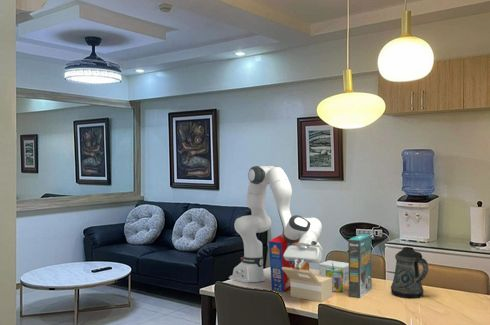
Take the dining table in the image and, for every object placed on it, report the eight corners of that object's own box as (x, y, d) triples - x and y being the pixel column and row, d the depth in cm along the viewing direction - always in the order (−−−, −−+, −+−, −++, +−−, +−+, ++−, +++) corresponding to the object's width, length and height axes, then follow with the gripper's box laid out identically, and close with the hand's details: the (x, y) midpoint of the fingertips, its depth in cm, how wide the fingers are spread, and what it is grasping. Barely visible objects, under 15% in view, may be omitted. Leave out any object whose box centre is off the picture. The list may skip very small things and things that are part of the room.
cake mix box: (360, 287, 270) (360, 234, 270) (371, 288, 267) (371, 234, 267) (348, 296, 251) (348, 239, 251) (360, 298, 248) (359, 240, 248)
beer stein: (393, 289, 266) (393, 244, 266) (430, 293, 257) (430, 246, 257) (388, 296, 251) (388, 248, 251) (427, 301, 242) (427, 251, 242)
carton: (290, 296, 252) (290, 276, 252) (302, 291, 262) (301, 272, 262) (321, 302, 242) (320, 281, 242) (332, 296, 251) (331, 277, 251)
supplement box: (318, 278, 291) (318, 263, 291) (329, 274, 302) (329, 259, 302) (344, 282, 281) (344, 266, 281) (354, 278, 291) (353, 263, 291)
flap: (290, 279, 251) (281, 269, 244) (291, 276, 251) (282, 266, 244) (317, 283, 241) (309, 273, 234) (318, 280, 242) (310, 270, 235)
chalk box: (342, 292, 259) (342, 265, 259) (325, 291, 261) (325, 264, 261) (342, 288, 268) (342, 261, 268) (326, 287, 270) (326, 261, 270)
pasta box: (284, 292, 261) (281, 242, 257) (271, 289, 265) (268, 241, 262) (309, 275, 282) (307, 229, 279) (297, 272, 287) (295, 227, 284)
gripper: (286, 240, 251) (277, 262, 243) (321, 242, 239) (312, 265, 231) (291, 248, 255) (282, 269, 247) (326, 250, 243) (317, 273, 235)
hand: (297, 267), depth 239 cm, fingers closed
